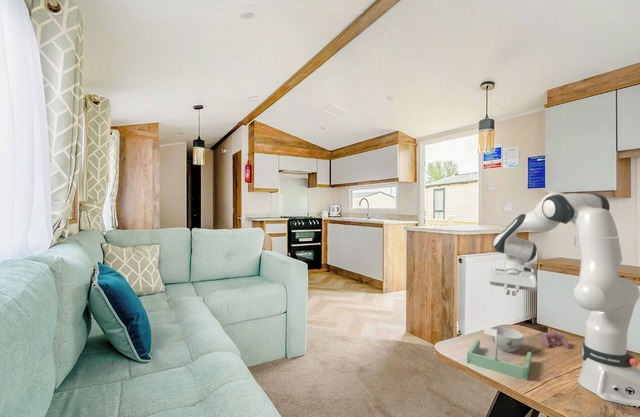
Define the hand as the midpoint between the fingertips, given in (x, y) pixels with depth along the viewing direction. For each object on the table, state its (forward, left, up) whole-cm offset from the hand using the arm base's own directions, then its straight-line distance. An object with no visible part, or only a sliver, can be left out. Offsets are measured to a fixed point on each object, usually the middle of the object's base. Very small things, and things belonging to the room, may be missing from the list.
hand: (510, 294), depth 153 cm
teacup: (0, +13, -22) cm, 25 cm away
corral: (0, +29, -21) cm, 36 cm away
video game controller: (-17, -5, -22) cm, 28 cm away
